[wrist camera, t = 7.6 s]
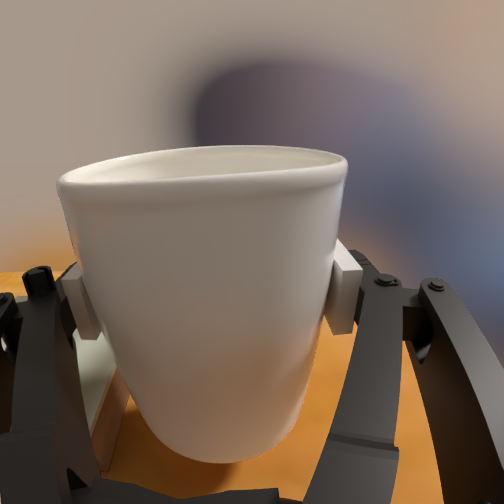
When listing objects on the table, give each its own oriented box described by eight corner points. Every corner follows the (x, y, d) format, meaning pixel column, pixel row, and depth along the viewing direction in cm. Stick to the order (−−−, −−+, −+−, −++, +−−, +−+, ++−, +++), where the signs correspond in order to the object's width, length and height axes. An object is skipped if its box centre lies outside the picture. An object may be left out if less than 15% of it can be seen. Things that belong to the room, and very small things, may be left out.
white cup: (319, 350, 18) (337, 147, 14) (307, 494, 10) (376, 186, 5) (172, 332, 20) (147, 149, 15) (100, 444, 11) (-3, 194, 7)
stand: (-41, 420, 12) (-63, 390, 11) (27, 323, 26) (17, 295, 25) (108, 472, 13) (85, 442, 12) (151, 328, 27) (143, 296, 25)
